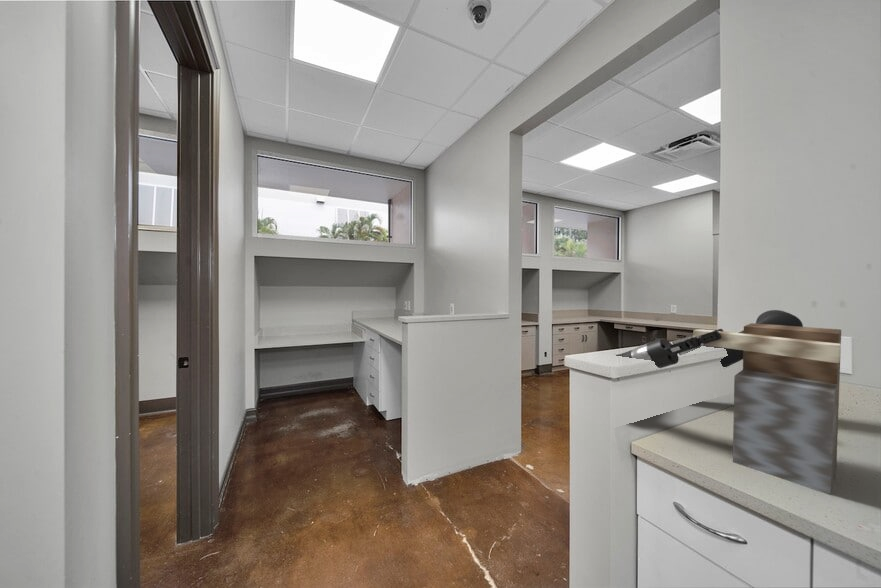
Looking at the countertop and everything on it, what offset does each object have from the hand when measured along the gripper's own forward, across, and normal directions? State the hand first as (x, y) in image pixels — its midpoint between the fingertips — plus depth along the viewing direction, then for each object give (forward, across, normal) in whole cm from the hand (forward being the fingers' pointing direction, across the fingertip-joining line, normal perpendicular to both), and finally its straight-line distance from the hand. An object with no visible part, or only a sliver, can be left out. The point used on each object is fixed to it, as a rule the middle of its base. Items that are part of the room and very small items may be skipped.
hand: (721, 333), depth 81 cm
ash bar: (+4, 0, -6) cm, 7 cm away
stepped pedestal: (-5, -4, -32) cm, 33 cm away
